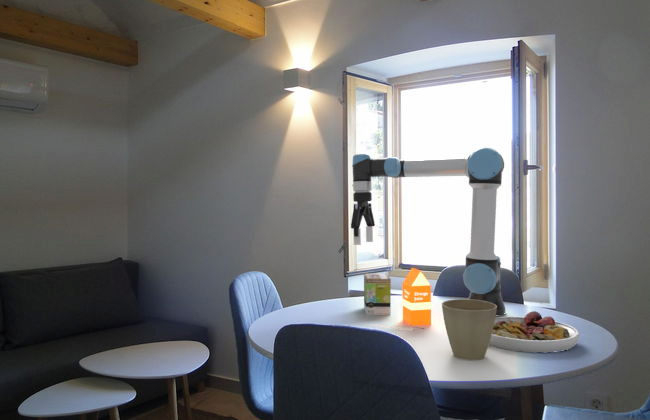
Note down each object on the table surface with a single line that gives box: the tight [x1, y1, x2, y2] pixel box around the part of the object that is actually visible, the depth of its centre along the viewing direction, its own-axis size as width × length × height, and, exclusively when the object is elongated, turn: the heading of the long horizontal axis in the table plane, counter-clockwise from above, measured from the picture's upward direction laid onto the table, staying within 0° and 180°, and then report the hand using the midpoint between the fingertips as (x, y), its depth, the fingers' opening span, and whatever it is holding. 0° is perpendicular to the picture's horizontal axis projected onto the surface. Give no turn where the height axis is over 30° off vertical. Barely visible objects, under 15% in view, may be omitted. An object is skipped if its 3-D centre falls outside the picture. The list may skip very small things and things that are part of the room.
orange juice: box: [402, 267, 432, 326], centre depth 187 cm, size 8×9×20 cm
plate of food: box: [489, 311, 580, 353], centre depth 161 cm, size 30×30×8 cm
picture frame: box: [367, 323, 425, 332], centre depth 175 cm, size 24×18×1 cm
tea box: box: [363, 273, 392, 316], centre depth 208 cm, size 15×10×15 cm
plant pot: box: [441, 298, 497, 361], centre depth 144 cm, size 15×15×16 cm
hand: (363, 243), depth 212 cm, fingers open, 13 cm apart
